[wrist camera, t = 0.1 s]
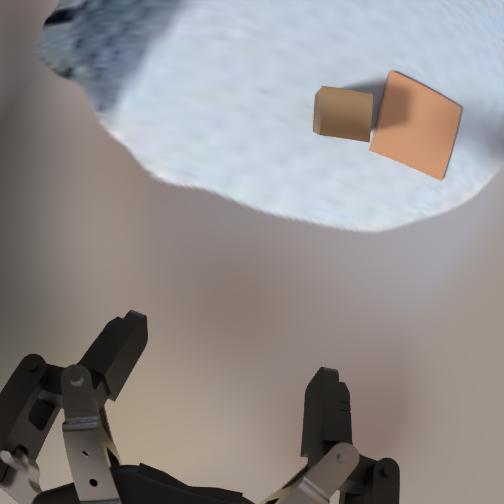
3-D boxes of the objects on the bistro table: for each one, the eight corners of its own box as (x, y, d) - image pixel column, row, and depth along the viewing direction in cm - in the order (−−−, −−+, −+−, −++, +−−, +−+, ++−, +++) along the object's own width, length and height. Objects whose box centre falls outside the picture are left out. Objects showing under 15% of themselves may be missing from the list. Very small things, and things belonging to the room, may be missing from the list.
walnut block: (314, 95, 30) (322, 86, 21) (352, 100, 29) (373, 94, 21) (312, 131, 32) (319, 135, 24) (349, 136, 32) (369, 142, 23)
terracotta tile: (388, 71, 26) (391, 70, 25) (457, 107, 26) (461, 107, 25) (369, 150, 32) (371, 151, 31) (438, 179, 32) (441, 181, 31)
